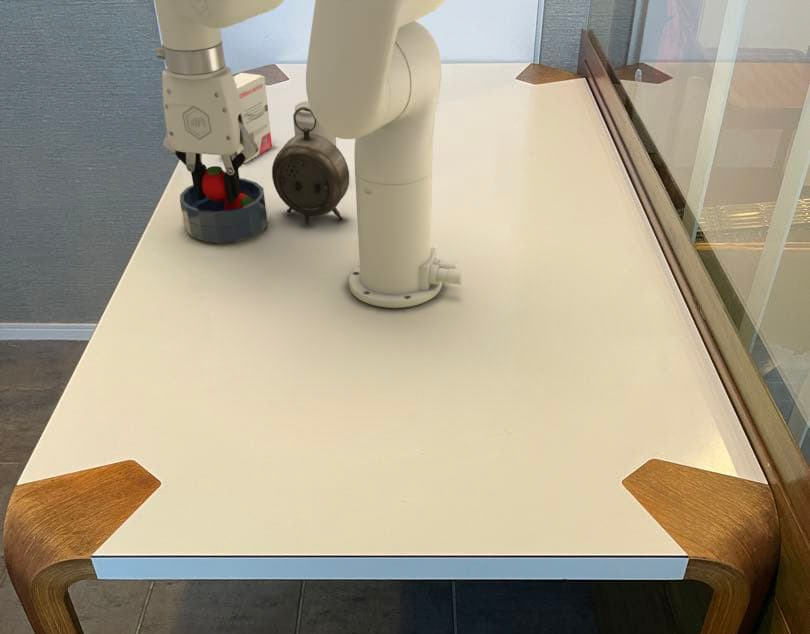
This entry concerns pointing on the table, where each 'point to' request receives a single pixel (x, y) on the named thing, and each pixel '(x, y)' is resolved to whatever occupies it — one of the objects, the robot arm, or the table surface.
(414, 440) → the table surface
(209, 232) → the bowl
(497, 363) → the table surface
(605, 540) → the table surface
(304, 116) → the beverage can
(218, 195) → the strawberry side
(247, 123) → the ink box
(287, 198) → the alarm clock
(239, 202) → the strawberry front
